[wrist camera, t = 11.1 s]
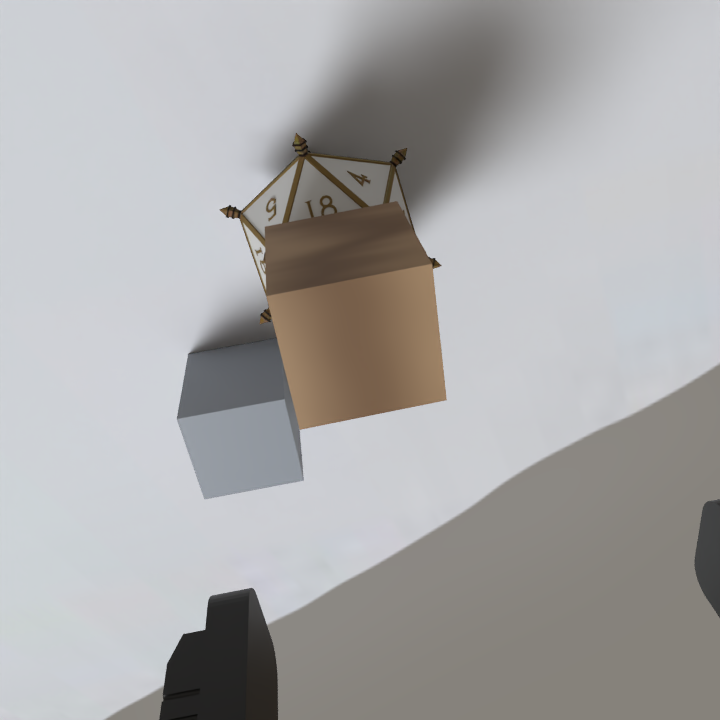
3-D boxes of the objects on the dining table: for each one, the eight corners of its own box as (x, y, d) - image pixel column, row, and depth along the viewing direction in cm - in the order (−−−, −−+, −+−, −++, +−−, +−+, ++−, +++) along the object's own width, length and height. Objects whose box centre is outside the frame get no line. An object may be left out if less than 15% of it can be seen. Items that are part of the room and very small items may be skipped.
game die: (330, 150, 36) (451, 84, 27) (379, 305, 37) (508, 289, 29) (170, 191, 31) (253, 127, 23) (232, 364, 33) (333, 366, 24)
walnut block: (397, 201, 26) (432, 263, 20) (412, 318, 28) (446, 400, 23) (264, 226, 25) (266, 296, 20) (292, 342, 28) (299, 429, 23)
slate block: (280, 336, 37) (284, 399, 32) (297, 411, 39) (303, 480, 34) (188, 353, 37) (176, 419, 32) (211, 427, 39) (204, 499, 34)
